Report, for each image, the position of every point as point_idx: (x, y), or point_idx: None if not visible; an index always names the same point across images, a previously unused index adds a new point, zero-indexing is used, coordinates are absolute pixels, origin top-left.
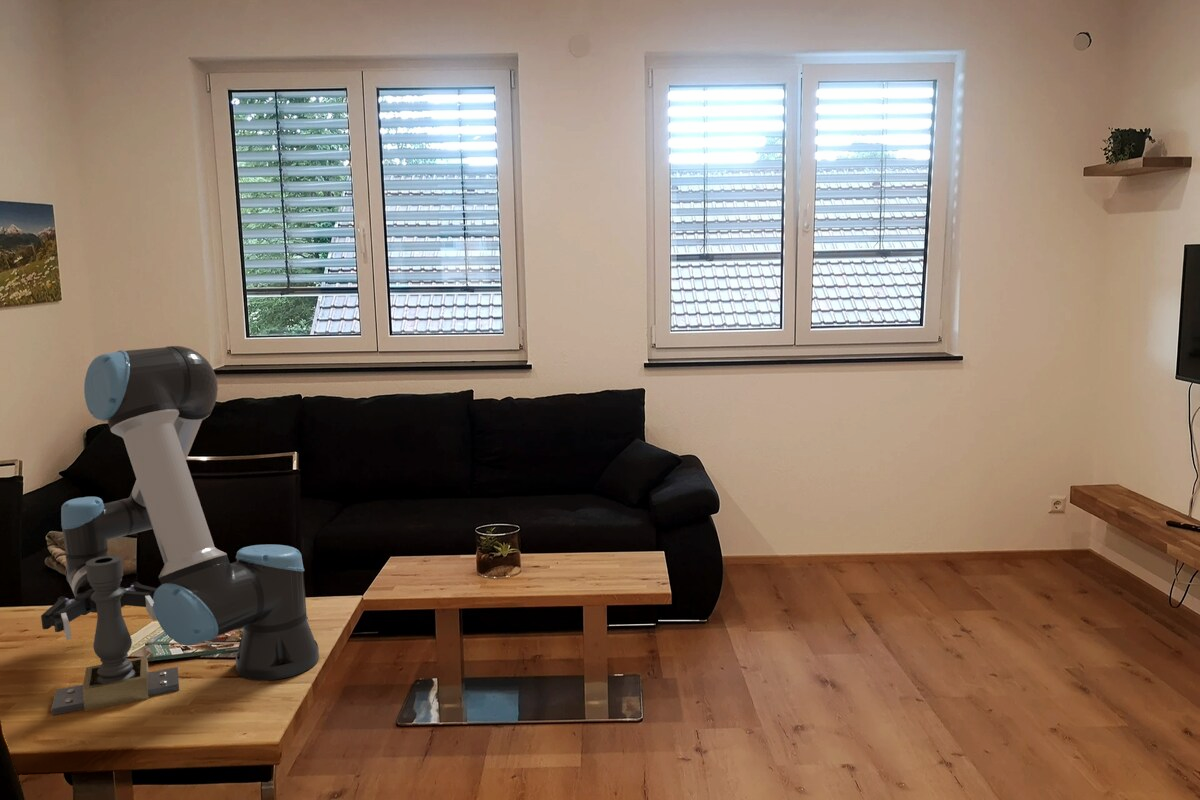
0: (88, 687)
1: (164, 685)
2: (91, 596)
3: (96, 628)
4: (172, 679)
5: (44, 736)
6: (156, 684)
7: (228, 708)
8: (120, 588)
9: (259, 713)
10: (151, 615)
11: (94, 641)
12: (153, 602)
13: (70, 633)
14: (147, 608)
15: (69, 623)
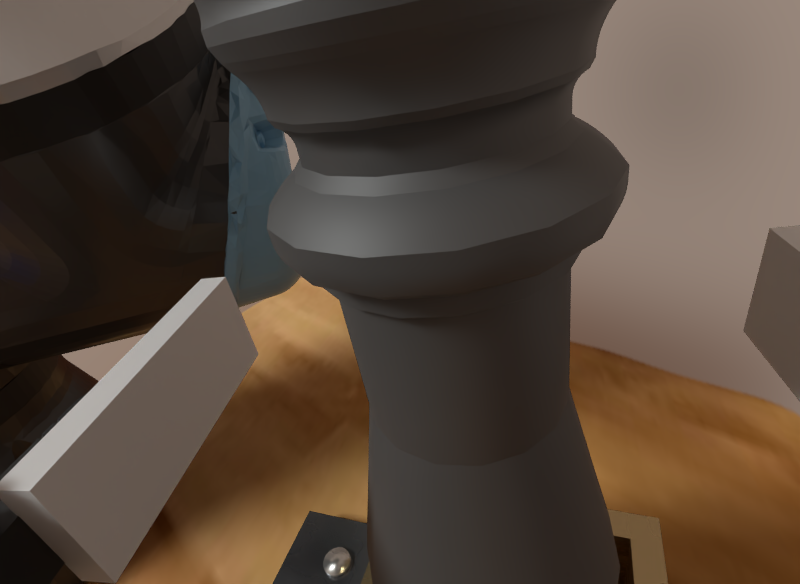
0: (631, 525)
1: (346, 532)
2: (613, 146)
3: (584, 441)
4: (301, 567)
5: (760, 463)
6: (363, 561)
7: (298, 363)
8: (292, 172)
9: (276, 326)
10: (233, 366)
11: (607, 517)
12: (164, 319)
13: (756, 296)
14: (144, 489)
15: (779, 234)
